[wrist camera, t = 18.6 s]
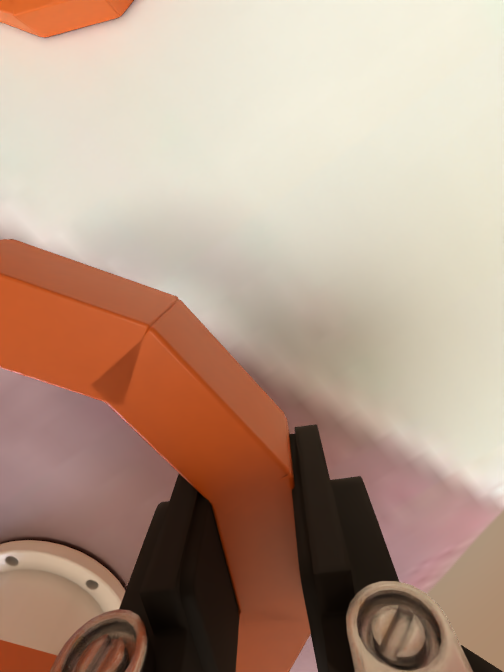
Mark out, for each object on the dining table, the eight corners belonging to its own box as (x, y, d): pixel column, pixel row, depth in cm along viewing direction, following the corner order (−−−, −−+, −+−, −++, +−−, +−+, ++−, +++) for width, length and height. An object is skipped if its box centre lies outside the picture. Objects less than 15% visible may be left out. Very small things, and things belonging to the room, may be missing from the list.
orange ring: (331, 667, 11) (345, 768, 9) (-82, 703, 13) (-151, 801, 11) (246, 191, 8) (239, 183, 5) (-340, 308, 9) (-530, 338, 7)
